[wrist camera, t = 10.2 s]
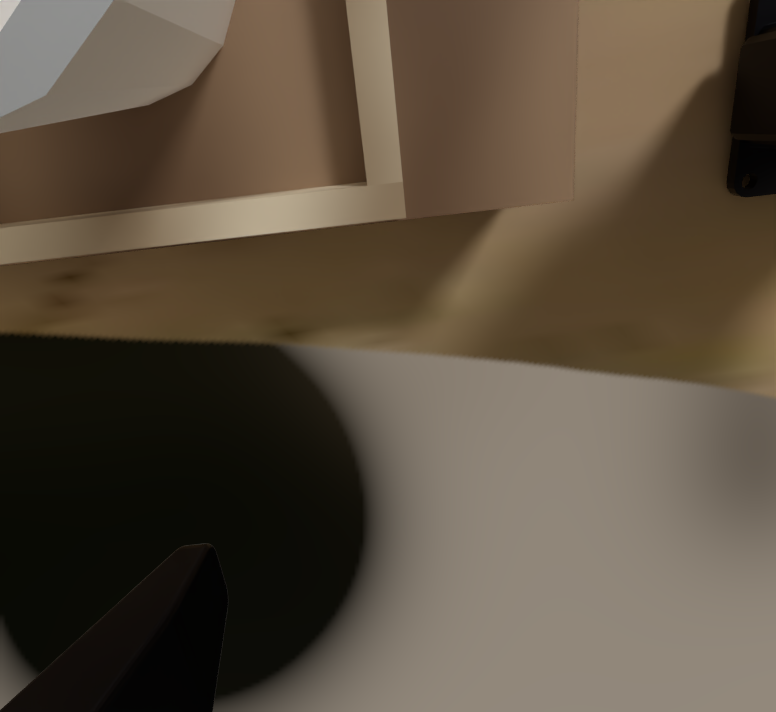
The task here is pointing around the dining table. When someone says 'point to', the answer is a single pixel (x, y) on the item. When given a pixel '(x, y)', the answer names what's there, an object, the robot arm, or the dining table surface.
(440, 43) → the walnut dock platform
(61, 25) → the shot glass
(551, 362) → the dining table surface
